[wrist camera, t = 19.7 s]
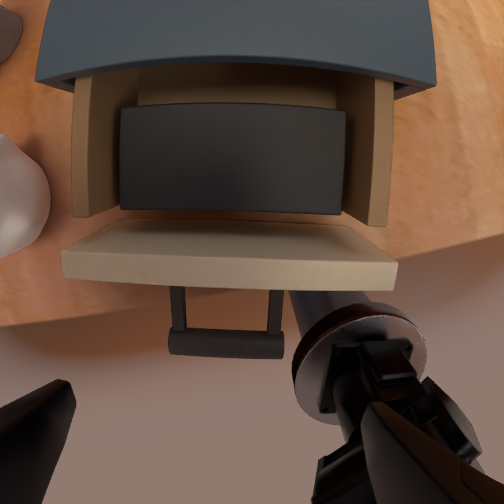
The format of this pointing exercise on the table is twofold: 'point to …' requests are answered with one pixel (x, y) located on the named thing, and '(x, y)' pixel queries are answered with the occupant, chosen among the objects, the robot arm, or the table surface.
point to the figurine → (20, 198)
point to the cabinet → (240, 37)
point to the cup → (9, 32)
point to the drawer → (232, 232)
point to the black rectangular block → (232, 157)
